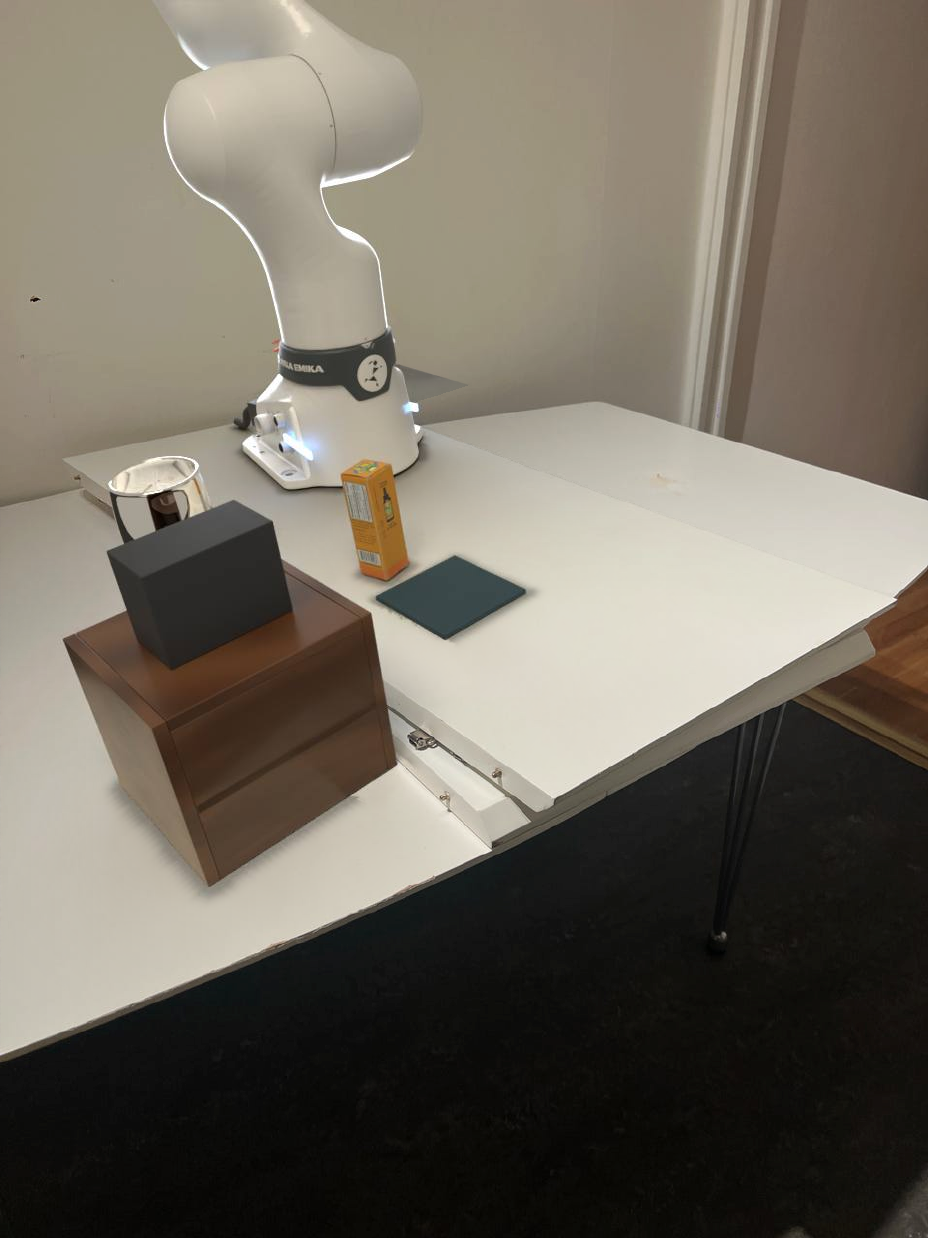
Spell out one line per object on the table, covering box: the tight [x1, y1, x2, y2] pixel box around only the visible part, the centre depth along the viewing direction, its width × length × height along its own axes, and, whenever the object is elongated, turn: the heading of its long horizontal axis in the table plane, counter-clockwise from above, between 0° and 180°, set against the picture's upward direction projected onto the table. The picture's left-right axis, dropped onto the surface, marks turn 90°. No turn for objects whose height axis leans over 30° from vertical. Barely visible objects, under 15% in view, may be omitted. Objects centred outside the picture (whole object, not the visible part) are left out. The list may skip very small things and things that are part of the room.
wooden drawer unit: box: [62, 558, 398, 887], centre depth 57 cm, size 12×14×12 cm
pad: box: [375, 555, 527, 640], centre depth 76 cm, size 9×9×1 cm
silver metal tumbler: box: [106, 455, 214, 545], centre depth 70 cm, size 7×7×15 cm
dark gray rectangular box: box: [106, 499, 293, 670], centre depth 52 cm, size 4×8×6 cm, turn 132°
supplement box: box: [340, 459, 409, 581], centre depth 78 cm, size 3×3×10 cm
